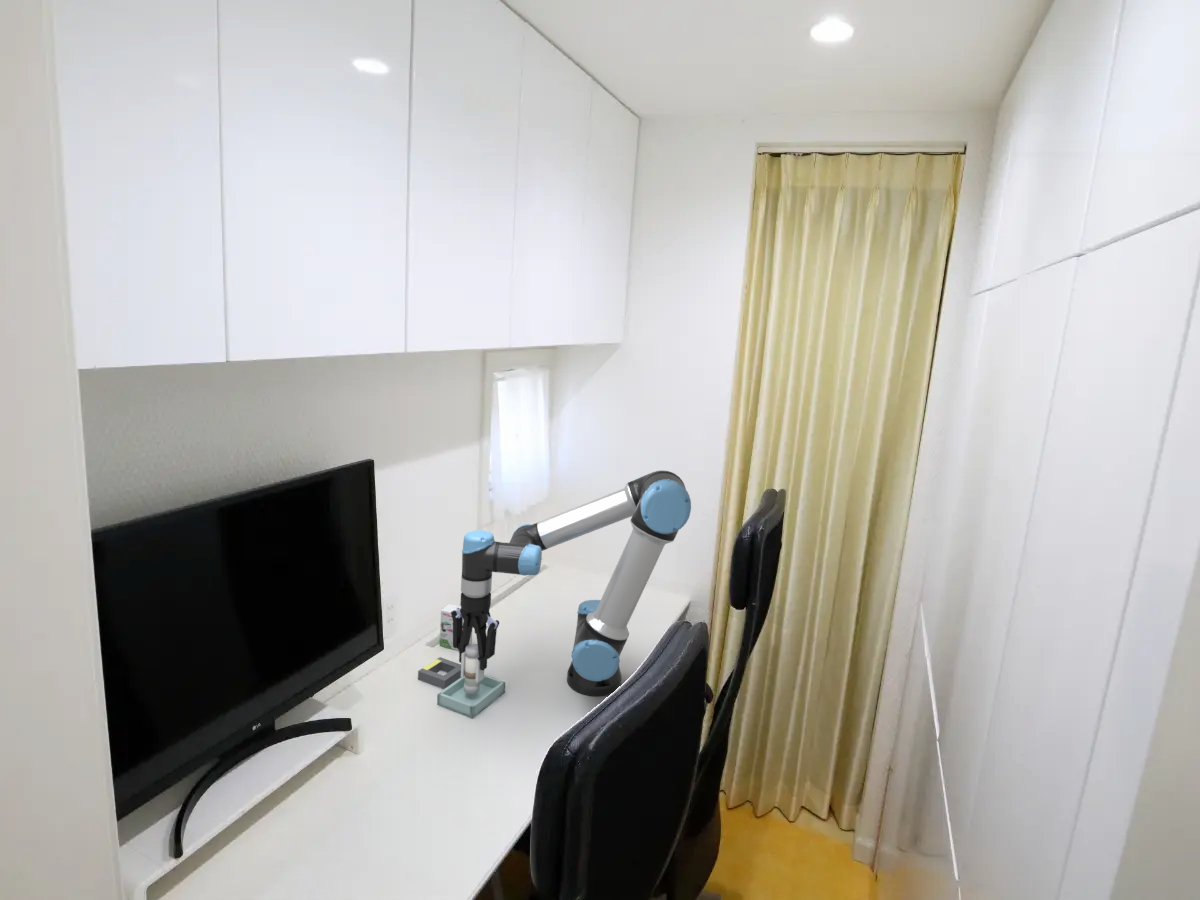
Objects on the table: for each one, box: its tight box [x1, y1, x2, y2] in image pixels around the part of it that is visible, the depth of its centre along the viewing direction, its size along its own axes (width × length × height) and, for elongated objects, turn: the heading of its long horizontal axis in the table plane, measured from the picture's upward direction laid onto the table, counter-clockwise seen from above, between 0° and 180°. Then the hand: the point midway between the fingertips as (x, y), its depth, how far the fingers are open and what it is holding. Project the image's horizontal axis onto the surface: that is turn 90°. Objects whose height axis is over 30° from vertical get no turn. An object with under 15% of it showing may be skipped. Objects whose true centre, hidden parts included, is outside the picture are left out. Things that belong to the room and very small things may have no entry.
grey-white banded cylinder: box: [464, 643, 480, 694], centre depth 170 cm, size 4×4×12 cm
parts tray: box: [436, 674, 506, 719], centre depth 171 cm, size 11×14×3 cm
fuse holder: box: [417, 656, 461, 690], centre depth 180 cm, size 9×9×3 cm
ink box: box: [439, 603, 473, 652], centre depth 197 cm, size 8×5×12 cm, turn 71°
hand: (472, 677), depth 170 cm, fingers closed on grey-white banded cylinder, 4 cm apart
